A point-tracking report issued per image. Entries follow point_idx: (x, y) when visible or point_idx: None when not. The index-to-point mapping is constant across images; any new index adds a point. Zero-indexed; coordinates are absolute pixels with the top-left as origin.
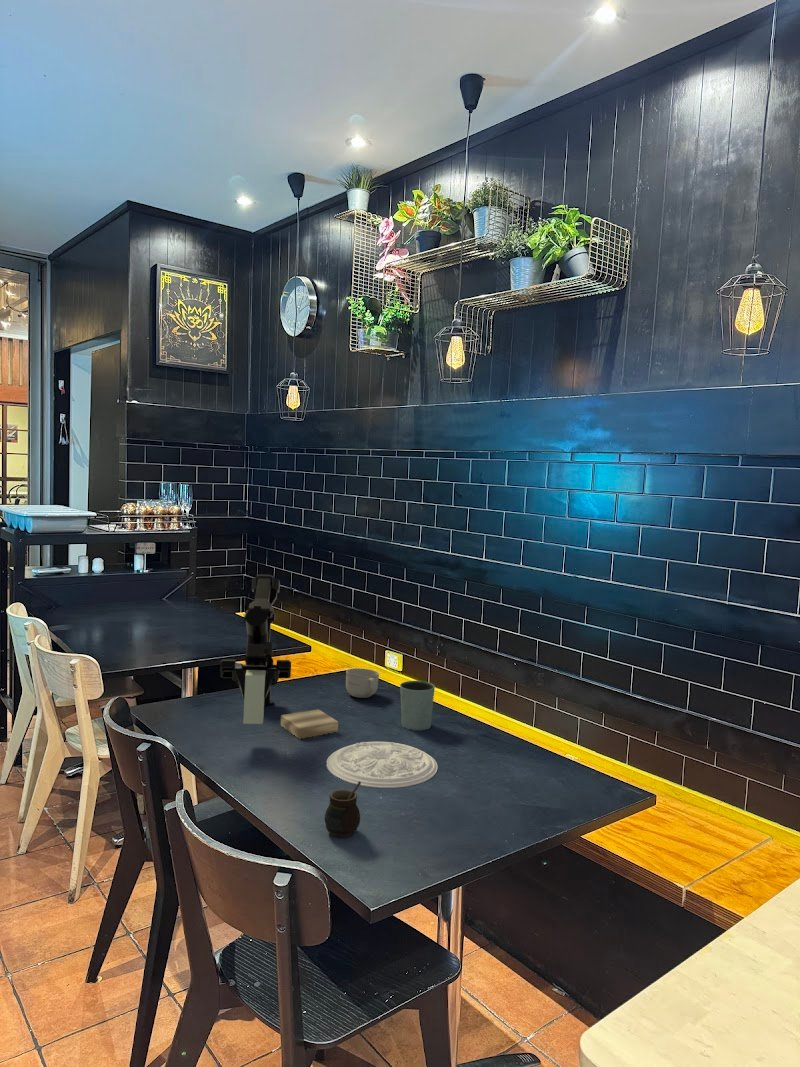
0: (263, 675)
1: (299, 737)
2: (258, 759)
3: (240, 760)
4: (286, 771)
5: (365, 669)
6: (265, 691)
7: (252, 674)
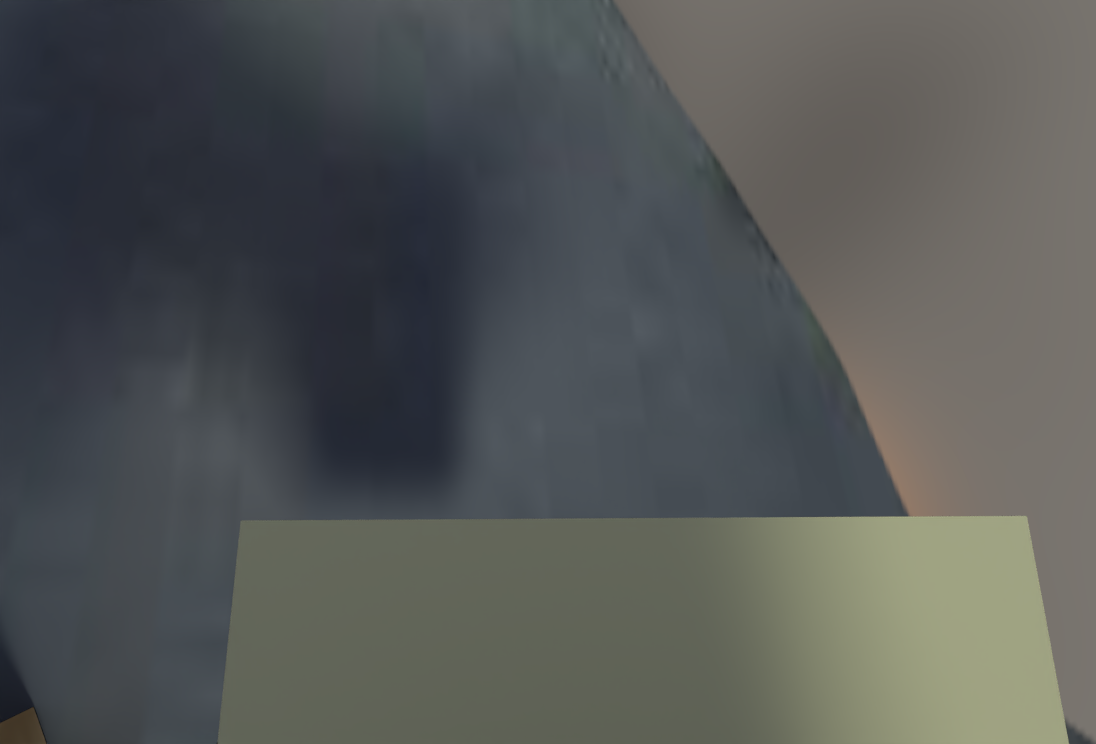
0: (311, 569)
1: (20, 714)
2: (413, 278)
3: (529, 273)
4: (229, 75)
5: None
6: None
7: (808, 665)
